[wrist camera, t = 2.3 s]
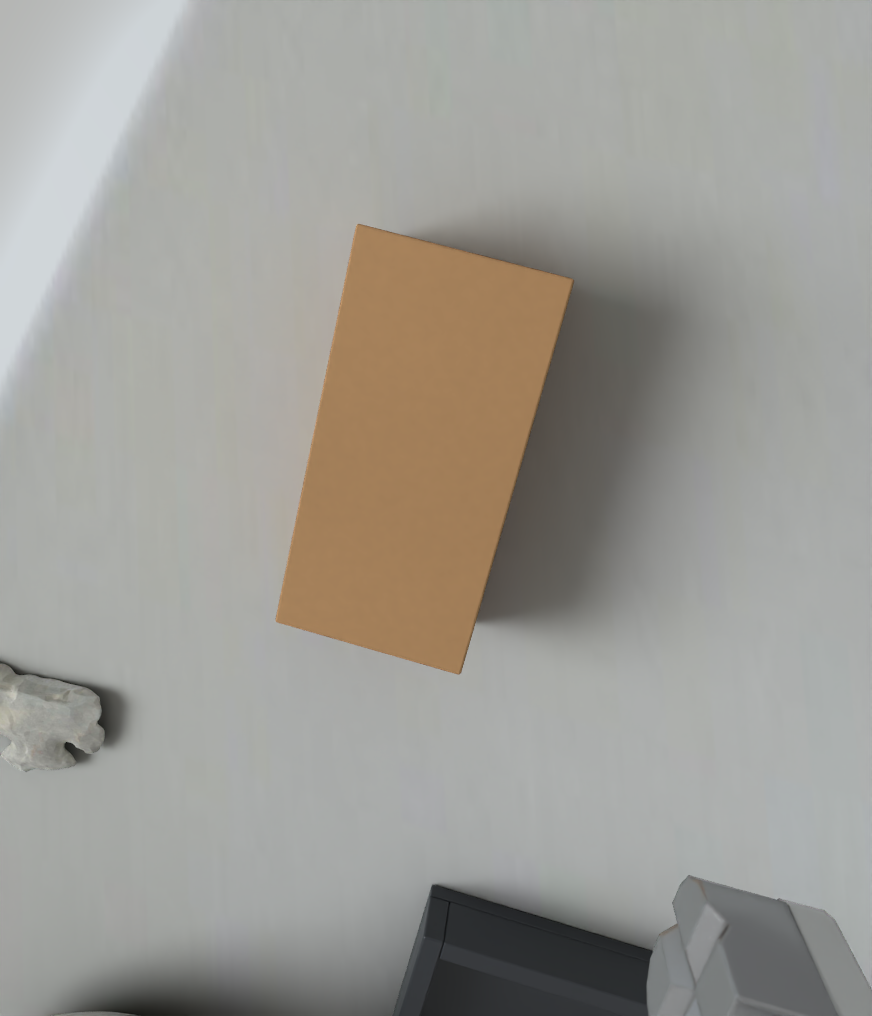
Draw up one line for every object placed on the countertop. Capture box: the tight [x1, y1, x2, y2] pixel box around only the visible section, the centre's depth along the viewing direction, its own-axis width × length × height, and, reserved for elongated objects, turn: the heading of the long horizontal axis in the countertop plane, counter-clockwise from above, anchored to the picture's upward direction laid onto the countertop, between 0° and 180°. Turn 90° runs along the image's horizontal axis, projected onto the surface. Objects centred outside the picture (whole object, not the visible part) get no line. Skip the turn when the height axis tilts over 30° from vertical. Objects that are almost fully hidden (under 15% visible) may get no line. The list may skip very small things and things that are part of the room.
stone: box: [0, 663, 105, 772], centre depth 29 cm, size 6×1×5 cm
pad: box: [276, 224, 574, 674], centre depth 23 cm, size 6×12×4 cm, turn 166°
